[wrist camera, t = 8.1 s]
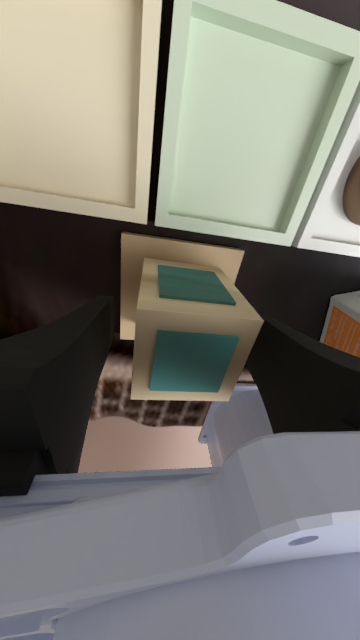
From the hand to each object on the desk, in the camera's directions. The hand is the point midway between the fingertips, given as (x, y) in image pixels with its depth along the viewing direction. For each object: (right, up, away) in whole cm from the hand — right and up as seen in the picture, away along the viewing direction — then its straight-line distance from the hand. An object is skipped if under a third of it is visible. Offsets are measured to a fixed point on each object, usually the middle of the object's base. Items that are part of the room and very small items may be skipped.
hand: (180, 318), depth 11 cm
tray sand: (-5, +9, -3) cm, 10 cm away
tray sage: (+3, +8, -1) cm, 9 cm away
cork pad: (0, +2, +3) cm, 3 cm away
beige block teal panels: (0, +1, +2) cm, 2 cm away
